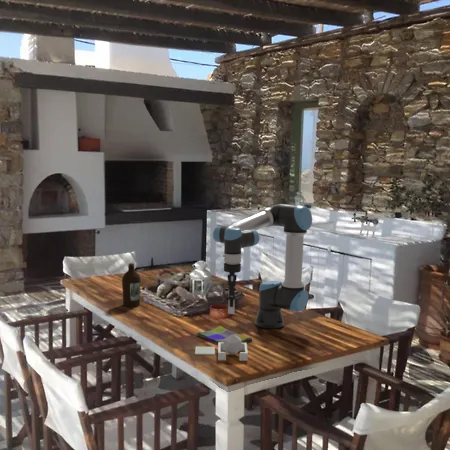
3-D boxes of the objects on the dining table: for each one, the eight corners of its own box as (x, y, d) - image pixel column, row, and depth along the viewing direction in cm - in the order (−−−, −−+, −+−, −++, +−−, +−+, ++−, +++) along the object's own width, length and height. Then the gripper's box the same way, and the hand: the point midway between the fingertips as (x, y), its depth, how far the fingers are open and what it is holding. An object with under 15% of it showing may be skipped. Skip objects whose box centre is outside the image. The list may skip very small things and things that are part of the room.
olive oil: (118, 305, 329) (118, 263, 326) (133, 302, 337) (133, 261, 333) (129, 309, 322) (128, 266, 318) (144, 306, 329) (144, 264, 326)
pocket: (246, 350, 262) (246, 342, 261) (247, 360, 249) (247, 353, 249) (218, 349, 262) (218, 342, 261) (218, 360, 249) (218, 352, 248)
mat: (215, 348, 264) (215, 346, 264) (214, 355, 255) (214, 353, 255) (195, 347, 264) (195, 346, 264) (194, 354, 255) (194, 353, 255)
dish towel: (221, 329, 292) (221, 324, 292) (254, 342, 274) (254, 337, 273) (194, 336, 281) (194, 331, 280) (227, 350, 262) (227, 344, 262)
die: (244, 352, 259) (244, 331, 257) (239, 359, 250) (239, 338, 249) (226, 350, 261) (226, 329, 259) (220, 357, 252) (221, 336, 251)
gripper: (224, 256, 263) (223, 301, 266) (223, 268, 238) (222, 317, 241) (240, 257, 263) (239, 301, 266) (241, 268, 238) (240, 317, 241)
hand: (231, 309), depth 253 cm, fingers open, 13 cm apart
